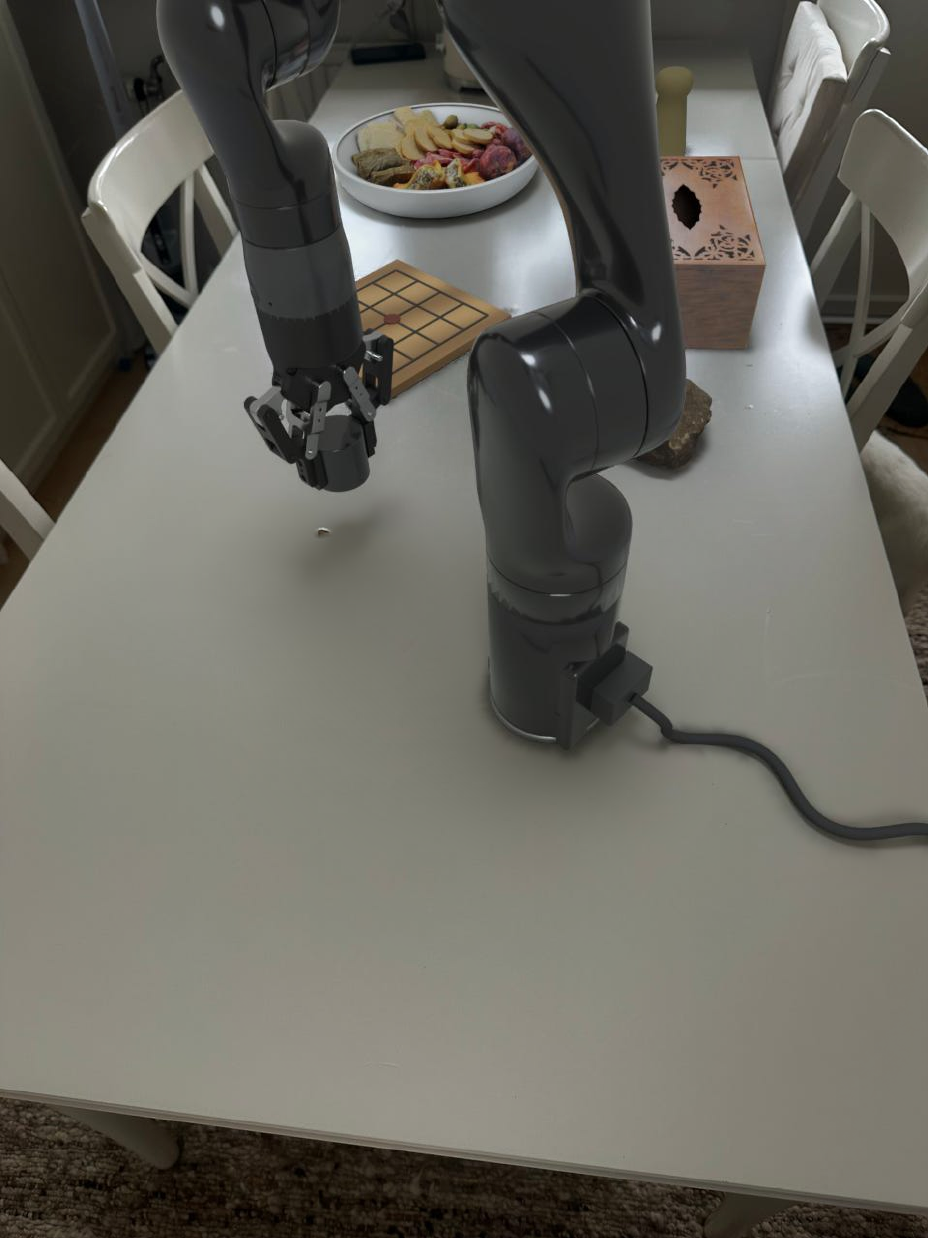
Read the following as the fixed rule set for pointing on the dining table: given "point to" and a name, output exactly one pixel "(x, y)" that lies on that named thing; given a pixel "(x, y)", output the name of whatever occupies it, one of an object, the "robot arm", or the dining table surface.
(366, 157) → the bowl
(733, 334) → the tissue box cover
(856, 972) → the dining table surface
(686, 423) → the stone
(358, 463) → the dark grey short cylinder
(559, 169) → the robot arm
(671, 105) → the pepper shaker
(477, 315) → the board
